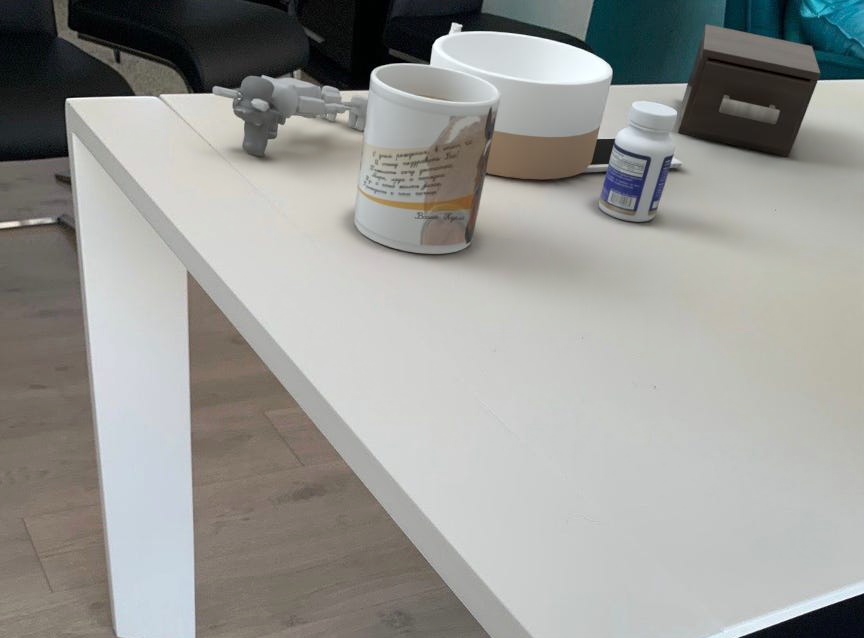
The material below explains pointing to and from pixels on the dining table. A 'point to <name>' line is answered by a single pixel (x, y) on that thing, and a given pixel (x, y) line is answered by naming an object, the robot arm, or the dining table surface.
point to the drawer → (748, 104)
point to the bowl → (534, 99)
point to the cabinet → (755, 55)
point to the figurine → (286, 107)
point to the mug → (424, 157)
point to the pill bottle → (639, 163)
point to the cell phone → (604, 154)
